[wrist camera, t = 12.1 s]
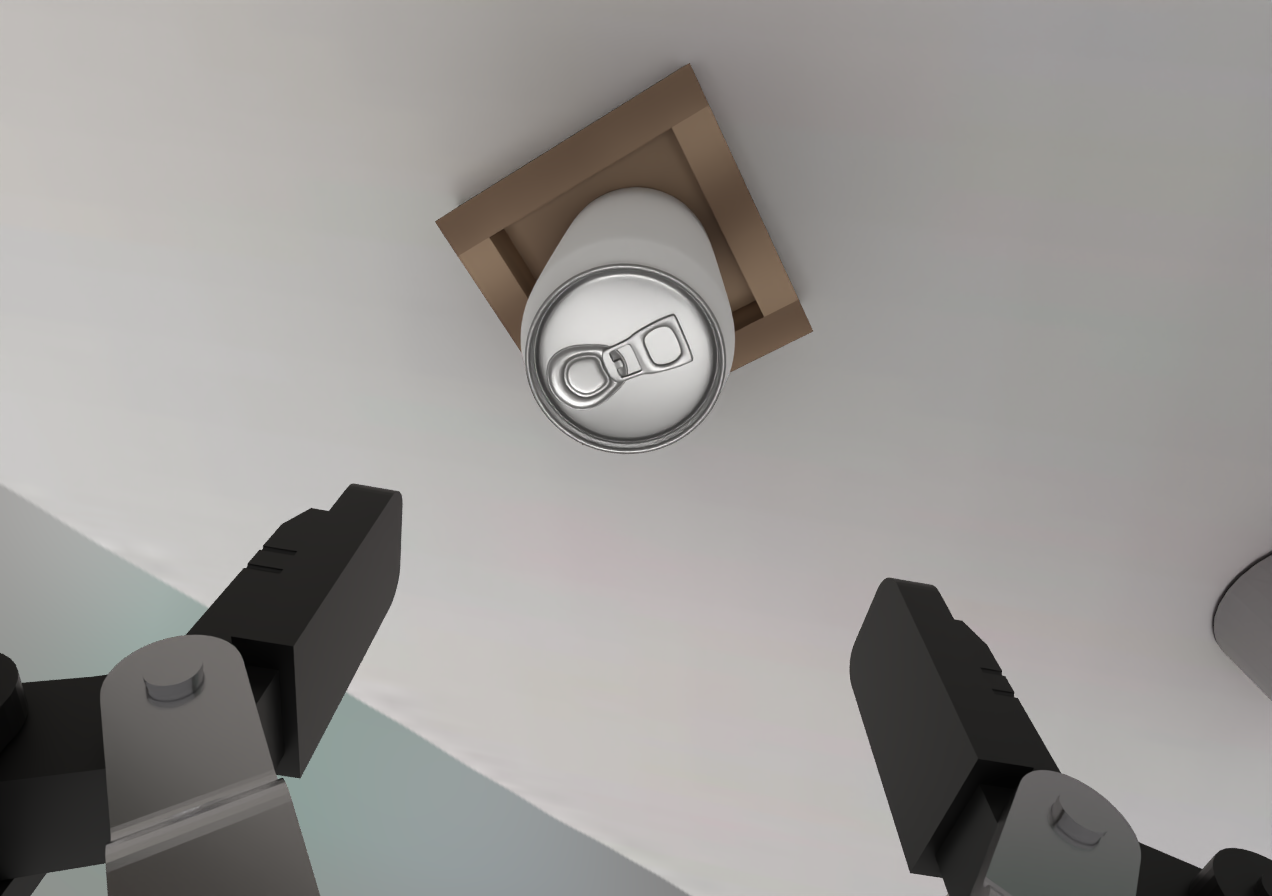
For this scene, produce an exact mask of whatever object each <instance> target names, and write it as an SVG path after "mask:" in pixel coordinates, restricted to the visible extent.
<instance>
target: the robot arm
mask: <svg viewBox="0 0 1272 896" xmlns="http://www.w3.org/2000/svg"><path fill="white" fill-rule="evenodd" d="M401 529H402V495H401V493H400V492H399V491H394V490H388V489H382V488H376V487H371V486H365V485H359V484H351V485H349V486H348V488H347V489H346V490H345V491H344V493H343V494H342V495H341V496H340V498H339V499H338V500H337V501H336V503H335V504H334V505H333V507H332V508H331V509H330V510H329V511H325V510H319V509H313V508H311V509H309V510H307V511H305V512H303V513H301V514H300V515H298V516H296V517H294V518H292V519H290V520H289V521H287V522H285V523H283V524H282V525H281V526H280V527H279V528H278V529H277V530H276V531H275V533H274V534H273V535H272V536H271V537H270V538H269V540H268V541H267V542H266V543H265V544H264V545H263V549H262V550H259V551H258V552H257V553H256V555H255V556H254V557H253V558H252V559H251V560H250V561H249V563H248V566H247V568H243V570H242V571H241V572H240V573H239V574H238V575H237V576H236V578H235V579H234V580H233V581H232V582H231V583H230V585H229V586H228V587H227V588H226V589H225V590H224V591H223V593H222V594H221V595H220V596H219V597H218V598H217V600H216V601H215V602H214V603H213V604H212V605H211V606H210V608H209V609H208V610H207V611H206V612H205V613H204V615H203V616H202V617H201V618H200V619H199V621H197V623H196V624H195V625H194V626H193V627H192V628H191V630H190V631H189V632H188V633H187V634H186V635H184V636H176V637H171V638H167V639H163V640H160V641H156V642H154V643H151V644H149V645H147V646H144V647H143V648H140V649H138V650H136V651H135V652H133V653H131V654H130V655H128V656H127V657H125V658H124V659H123V660H121V661H120V662H119V663H118V664H117V665H116V666H115V667H114V668H113V669H112V670H111V671H110V672H109V674H108V675H102V676H94V677H84V678H73V679H61V680H49V681H38V682H26V683H21V680H20V677H19V673H18V670H17V667H16V665H15V663H14V662H13V661H12V660H11V659H10V658H9V657H7V656H5V655H4V654H1V653H0V896H30V895H31V894H32V893H33V892H34V890H35V889H36V887H37V886H38V884H39V883H40V882H41V880H42V879H43V877H44V876H45V875H46V873H49V872H55V871H61V870H67V869H73V868H80V867H86V866H91V865H97V864H104V863H106V876H107V890H108V896H320V894H319V890H318V887H317V883H316V880H315V877H314V873H313V870H312V866H311V863H310V860H309V856H308V853H307V850H306V846H305V843H304V840H303V836H302V833H301V829H300V826H299V823H298V819H297V816H296V813H295V809H294V806H293V802H292V799H291V796H290V793H289V790H288V787H287V785H286V783H285V781H284V779H283V778H280V779H277V776H276V775H282V776H288V777H295V778H301V776H302V774H303V772H304V770H305V768H306V767H307V765H308V763H309V761H310V759H311V757H312V755H313V753H314V751H315V749H316V748H317V746H318V743H319V742H320V740H321V738H322V736H323V734H324V732H325V730H326V728H327V726H328V725H329V723H330V721H331V719H332V717H333V715H334V713H335V711H336V709H337V707H338V705H339V704H340V702H341V700H342V698H343V696H344V694H345V692H346V690H347V688H348V686H349V684H350V683H351V681H352V679H353V677H354V675H355V673H356V671H357V669H358V667H359V665H360V663H361V662H362V660H363V658H364V656H365V654H366V652H367V650H368V648H369V646H370V644H371V642H372V641H373V639H374V637H375V635H376V633H377V631H378V629H379V627H380V625H381V623H382V621H383V619H384V618H385V616H386V614H387V612H388V610H389V608H390V606H391V604H392V601H393V598H394V595H395V592H396V588H397V584H398V579H399V573H400V556H401ZM1214 634H1215V637H1216V641H1217V643H1218V645H1219V646H1220V648H1221V649H1222V650H1223V652H1224V653H1225V654H1226V655H1227V656H1228V657H1229V658H1230V659H1231V660H1232V661H1233V662H1234V663H1235V664H1236V665H1237V666H1238V667H1239V668H1240V669H1241V670H1242V671H1243V672H1244V673H1245V674H1246V675H1247V676H1248V677H1249V678H1250V679H1251V680H1252V681H1253V682H1254V683H1255V684H1256V685H1257V686H1258V687H1259V689H1260V690H1261V691H1262V692H1263V693H1264V694H1265V695H1266V696H1267V697H1268V698H1269V699H1270V700H1271V701H1272V555H1271V556H1269V557H1267V558H1266V559H1264V560H1262V561H1260V562H1259V563H1257V564H1256V565H1254V566H1253V567H1252V568H1251V569H1249V570H1248V571H1247V572H1246V573H1244V574H1243V575H1242V576H1241V577H1240V578H1239V579H1238V580H1237V581H1236V582H1235V583H1234V584H1233V585H1232V586H1231V587H1230V588H1229V590H1228V591H1227V593H1226V594H1225V596H1224V597H1223V599H1222V600H1221V602H1220V604H1219V606H1218V609H1217V612H1216V615H1215V617H1214ZM850 680H851V685H852V688H853V691H854V695H855V698H856V701H857V704H858V707H859V711H860V714H861V717H862V720H863V723H864V727H865V730H866V733H867V736H868V739H869V743H870V746H871V749H872V752H873V755H874V759H875V762H876V765H877V768H878V772H879V775H880V778H881V781H882V784H883V788H884V791H885V794H886V797H887V800H888V804H889V807H890V810H891V813H892V816H893V820H894V823H895V826H896V829H897V832H898V836H899V839H900V842H901V845H902V848H903V852H904V855H905V858H906V861H907V864H908V868H909V871H910V873H913V874H920V875H927V876H933V877H940V878H943V880H944V883H945V886H946V889H947V892H948V894H947V895H946V896H1272V860H1270V859H1268V858H1266V857H1264V856H1262V855H1259V854H1257V853H1254V852H1251V851H1247V850H1244V849H1237V848H1226V849H1223V850H1220V851H1219V852H1218V853H1217V854H1216V855H1215V856H1214V857H1213V858H1212V859H1211V860H1210V861H1209V862H1208V863H1207V864H1206V866H1205V867H1204V868H1203V869H1201V868H1198V867H1196V866H1194V865H1191V864H1189V863H1187V862H1184V861H1182V860H1179V859H1177V858H1175V857H1172V856H1170V855H1168V854H1165V853H1163V852H1161V851H1158V850H1156V849H1154V848H1151V847H1149V846H1146V845H1144V844H1142V843H1140V842H1138V840H1137V837H1136V835H1135V833H1134V831H1133V830H1132V828H1131V826H1130V825H1129V823H1128V822H1127V821H1126V819H1125V818H1124V817H1123V815H1122V814H1121V813H1120V812H1119V811H1118V810H1117V809H1116V808H1115V807H1114V806H1113V805H1112V804H1111V803H1110V802H1109V801H1108V800H1107V799H1105V798H1104V797H1103V796H1102V795H1100V794H1099V793H1098V792H1097V791H1095V790H1094V789H1092V788H1091V787H1089V786H1087V785H1086V784H1084V783H1082V782H1080V781H1079V780H1077V779H1074V778H1072V777H1070V776H1068V775H1065V774H1062V773H1061V772H1060V771H1059V769H1058V767H1057V765H1056V764H1055V762H1054V760H1053V758H1052V757H1051V755H1050V753H1049V752H1048V750H1047V748H1046V746H1045V745H1044V743H1043V741H1042V739H1041V738H1040V736H1039V734H1038V732H1037V731H1036V729H1035V727H1034V725H1033V724H1032V722H1031V720H1030V719H1029V717H1028V715H1027V713H1026V712H1025V710H1024V708H1023V706H1022V705H1021V703H1020V701H1019V699H1018V698H1015V697H1014V691H1013V689H1012V687H1011V686H1010V684H1009V682H1008V680H1007V679H1006V677H1005V676H1002V670H1001V668H1000V666H999V665H998V663H997V661H996V660H995V658H994V656H993V654H992V653H991V651H990V649H989V647H988V646H987V645H986V644H985V643H984V642H983V641H982V640H981V639H980V638H979V637H978V636H977V635H976V634H975V633H974V632H973V631H972V630H971V629H970V628H969V627H968V626H967V625H966V624H965V623H964V622H963V621H960V620H954V618H953V616H952V615H951V613H950V611H949V609H948V607H947V605H946V604H945V602H944V600H943V598H942V596H941V594H940V593H939V591H938V589H937V588H936V587H935V586H933V585H929V584H923V583H917V582H912V581H906V580H900V579H894V578H886V579H884V580H883V581H882V582H881V584H880V585H879V587H878V590H877V592H876V594H875V597H874V599H873V601H872V604H871V606H870V608H869V611H868V613H867V615H866V617H865V620H864V622H863V624H862V627H861V629H860V631H859V634H858V636H857V638H856V641H855V643H854V646H853V649H852V652H851V658H850Z"/></svg>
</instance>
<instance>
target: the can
mask: <svg viewBox="0 0 1272 896" xmlns="http://www.w3.org/2000/svg"><path fill="white" fill-rule="evenodd" d="M734 349H735V330H734V322H733V317H732V312H731V308H730V304H729V300H728V297H727V294H726V290H725V287H724V284H723V280H722V277H721V274H720V271H719V267H718V264H717V261H716V258H715V255H714V252H713V249H712V246H711V243H710V240H709V238H708V235H707V233H706V231H705V229H704V227H703V225H702V224H701V222H700V221H699V219H698V218H697V217H696V215H695V214H694V213H693V212H692V211H691V210H690V209H689V208H688V207H687V206H686V205H685V204H683V203H682V202H681V201H679V200H678V199H676V198H675V197H673V196H671V195H669V194H667V193H664V192H662V191H659V190H655V189H651V188H644V187H629V188H622V189H618V190H614V191H611V192H609V193H606V194H604V195H602V196H600V197H598V198H597V199H595V200H594V201H592V202H591V203H590V204H588V205H587V206H586V207H585V208H584V209H583V210H582V211H581V212H580V213H579V214H578V215H577V217H576V218H575V219H574V221H573V222H572V224H571V225H570V227H569V228H568V230H567V231H566V233H565V234H564V236H563V238H562V239H561V241H560V243H559V244H558V246H557V247H556V249H555V251H554V252H553V254H552V256H551V257H550V259H549V261H548V263H547V264H546V266H545V268H544V269H543V271H542V273H541V275H540V276H539V278H538V280H537V282H536V284H535V285H534V287H533V289H532V292H531V294H530V296H529V298H528V301H527V304H526V307H525V310H524V314H523V319H522V325H521V351H522V358H523V362H524V366H525V369H526V374H527V378H528V382H529V385H530V388H531V391H532V393H533V396H534V398H535V400H536V402H537V403H538V405H539V407H540V408H541V410H542V411H543V412H544V414H545V415H546V416H547V417H548V419H549V420H550V421H551V422H552V423H553V424H554V425H555V426H556V427H557V428H558V429H560V430H561V431H562V432H563V433H565V434H566V435H568V436H569V437H571V438H572V439H574V440H576V441H578V442H580V443H582V444H584V445H586V446H589V447H591V448H594V449H597V450H601V451H605V452H611V453H619V454H635V453H644V452H649V451H653V450H657V449H660V448H663V447H666V446H668V445H671V444H673V443H675V442H677V441H678V440H680V439H682V438H683V437H685V436H686V435H688V434H689V433H690V432H692V431H693V430H694V429H695V428H696V427H697V426H698V425H699V424H700V423H701V422H702V421H703V420H704V419H705V418H706V417H707V415H708V414H709V413H710V411H711V410H712V408H713V406H714V405H715V403H716V401H717V399H718V397H719V394H720V392H721V391H722V389H723V387H724V385H725V383H726V381H727V378H728V376H729V373H730V370H731V367H732V362H733V357H734Z"/></svg>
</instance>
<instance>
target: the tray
mask: <svg viewBox="0 0 1272 896" xmlns="http://www.w3.org/2000/svg"><path fill="white" fill-rule="evenodd" d="M629 187H644V188H651V189H655V190H659V191H662V192H664V193H667V194H669V195H671V196H673V197H675V198H676V199H678V200H679V201H681V202H682V203H683V204H685V205H686V206H687V207H688V208H689V209H690V210H691V211H692V212H693V213H694V214H695V215H696V217H697V218H698V219H699V221H700V222H701V224H702V225H703V227H704V229H705V231H706V233H707V235H708V238H709V240H710V243H711V246H712V249H713V252H714V255H715V258H716V261H717V264H718V267H719V271H720V274H721V277H722V280H723V284H724V287H725V290H726V294H727V297H728V300H729V304H730V308H731V312H732V317H733V322H734V330H735V349H734V357H733V362H732V367H731V370H730V372H732V371H734V370H736V369H738V368H740V367H742V366H744V365H746V364H748V363H750V362H752V361H754V360H756V359H758V358H760V357H762V356H764V355H766V354H768V353H770V352H772V351H774V350H776V349H778V348H780V347H782V346H784V345H786V344H788V343H790V342H792V341H795V340H797V339H799V338H801V337H803V336H805V335H807V334H809V333H811V332H813V330H812V328H811V325H810V323H809V321H808V319H807V317H806V315H805V312H804V310H803V308H802V306H801V304H800V302H799V299H798V297H797V295H796V293H795V291H794V288H793V286H792V284H791V282H790V280H789V278H788V275H787V273H786V271H785V269H784V267H783V265H782V262H781V260H780V258H779V256H778V254H777V252H776V249H775V247H774V245H773V243H772V241H771V239H770V236H769V234H768V232H767V230H766V228H765V226H764V223H763V221H762V219H761V217H760V215H759V213H758V210H757V208H756V206H755V204H754V202H753V199H752V197H751V195H750V193H749V191H748V189H747V186H746V184H745V182H744V180H743V178H742V176H741V173H740V171H739V169H738V167H737V165H736V163H735V160H734V158H733V156H732V154H731V152H730V150H729V147H728V145H727V143H726V141H725V139H724V137H723V134H722V132H721V130H720V128H719V126H718V124H717V121H716V119H715V117H714V115H713V113H712V111H711V108H710V106H709V104H708V102H707V100H706V97H705V95H704V93H703V91H702V89H701V87H700V84H699V82H698V80H697V78H696V76H695V74H694V71H693V69H692V67H691V65H690V63H689V64H687V65H685V66H683V67H682V68H680V69H679V70H677V71H675V72H674V73H672V74H671V75H669V76H667V77H666V78H664V79H663V80H661V81H659V82H658V83H656V84H655V85H653V86H651V87H650V88H648V89H646V90H645V91H643V92H642V93H640V94H638V95H637V96H635V97H634V98H632V99H630V100H629V101H627V102H626V103H624V104H622V105H621V106H619V107H618V108H616V109H614V110H613V111H611V112H610V113H608V114H606V115H605V116H603V117H602V118H600V119H598V120H597V121H595V122H593V123H592V124H590V125H589V126H587V127H585V128H584V129H582V130H581V131H579V132H577V133H576V134H574V135H573V136H571V137H569V138H568V139H566V140H565V141H563V142H561V143H560V144H558V145H557V146H555V147H553V148H552V149H550V150H549V151H547V152H545V153H544V154H542V155H540V156H539V157H537V158H536V159H534V160H532V161H531V162H529V163H528V164H526V165H524V166H523V167H521V168H520V169H518V170H516V171H515V172H513V173H512V174H510V175H508V176H507V177H505V178H504V179H502V180H500V181H499V182H497V183H496V184H494V185H492V186H491V187H489V188H487V189H486V190H484V191H483V192H481V193H479V194H478V195H476V196H475V197H473V198H471V199H470V200H468V201H467V202H465V203H463V204H462V205H460V206H459V207H457V208H455V209H454V210H452V211H451V212H449V213H448V214H446V215H445V216H443V217H441V218H440V219H438V220H437V221H435V222H436V224H437V225H438V227H439V228H440V230H441V232H442V233H443V235H444V236H445V238H446V239H447V241H448V242H449V244H450V245H451V247H452V248H453V250H454V251H455V253H456V254H457V256H458V257H459V259H460V260H461V262H462V263H463V265H464V266H465V268H466V269H467V271H468V272H469V274H470V275H471V277H472V278H473V280H474V281H475V283H476V284H477V286H478V288H479V289H480V291H481V292H482V294H483V295H484V297H485V298H486V300H487V301H488V303H489V304H490V306H491V307H492V309H493V310H494V312H495V313H496V315H497V316H498V318H499V319H500V321H501V322H502V324H503V325H504V327H505V328H506V330H507V331H508V333H509V334H510V336H511V337H512V339H513V340H514V342H515V344H516V345H517V347H518V348H519V350H520V351H521V325H522V319H523V314H524V310H525V307H526V304H527V301H528V298H529V296H530V294H531V292H532V289H533V287H534V285H535V284H536V282H537V280H538V278H539V276H540V275H541V273H542V271H543V269H544V268H545V266H546V264H547V263H548V261H549V259H550V257H551V256H552V254H553V252H554V251H555V249H556V247H557V246H558V244H559V243H560V241H561V239H562V238H563V236H564V234H565V233H566V231H567V230H568V228H569V227H570V225H571V224H572V222H573V221H574V219H575V218H576V217H577V215H578V214H579V213H580V212H581V211H582V210H583V209H584V208H585V207H586V206H587V205H588V204H590V203H591V202H592V201H594V200H595V199H597V198H598V197H600V196H602V195H604V194H606V193H609V192H611V191H614V190H618V189H622V188H629ZM521 353H522V351H521ZM582 445H584V444H582Z"/></svg>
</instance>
